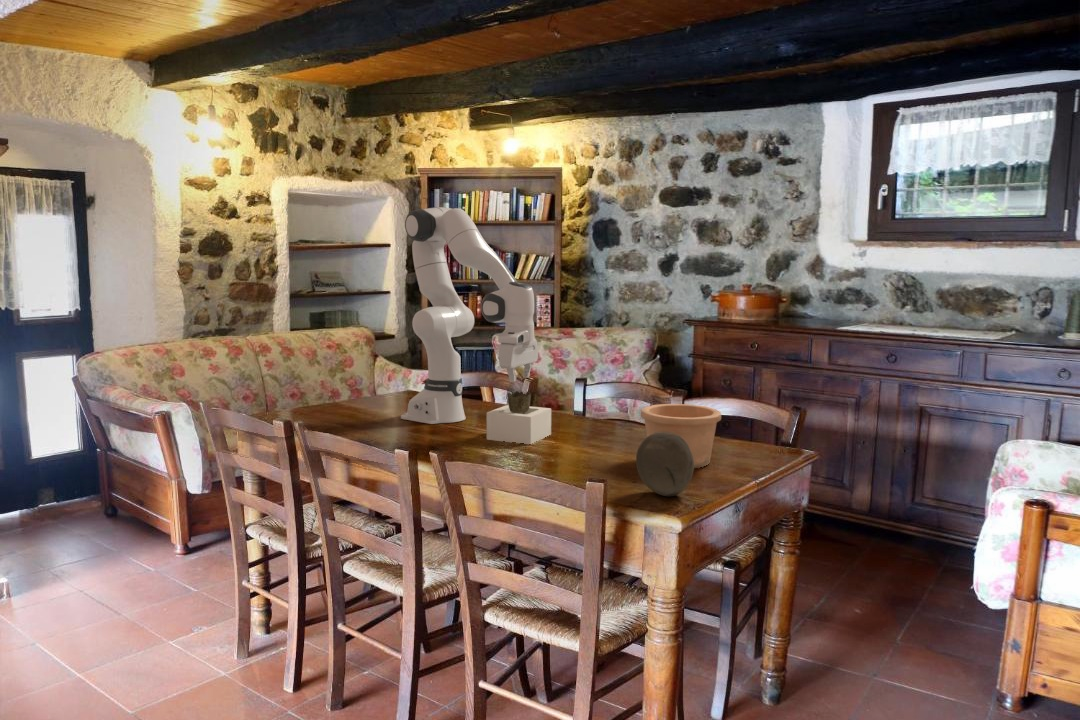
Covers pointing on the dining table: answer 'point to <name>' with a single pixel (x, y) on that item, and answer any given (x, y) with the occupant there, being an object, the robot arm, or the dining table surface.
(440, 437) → the dining table surface
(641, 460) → the dark round stone
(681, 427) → the pottery
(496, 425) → the cream box
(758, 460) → the dining table surface
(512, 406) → the cup
